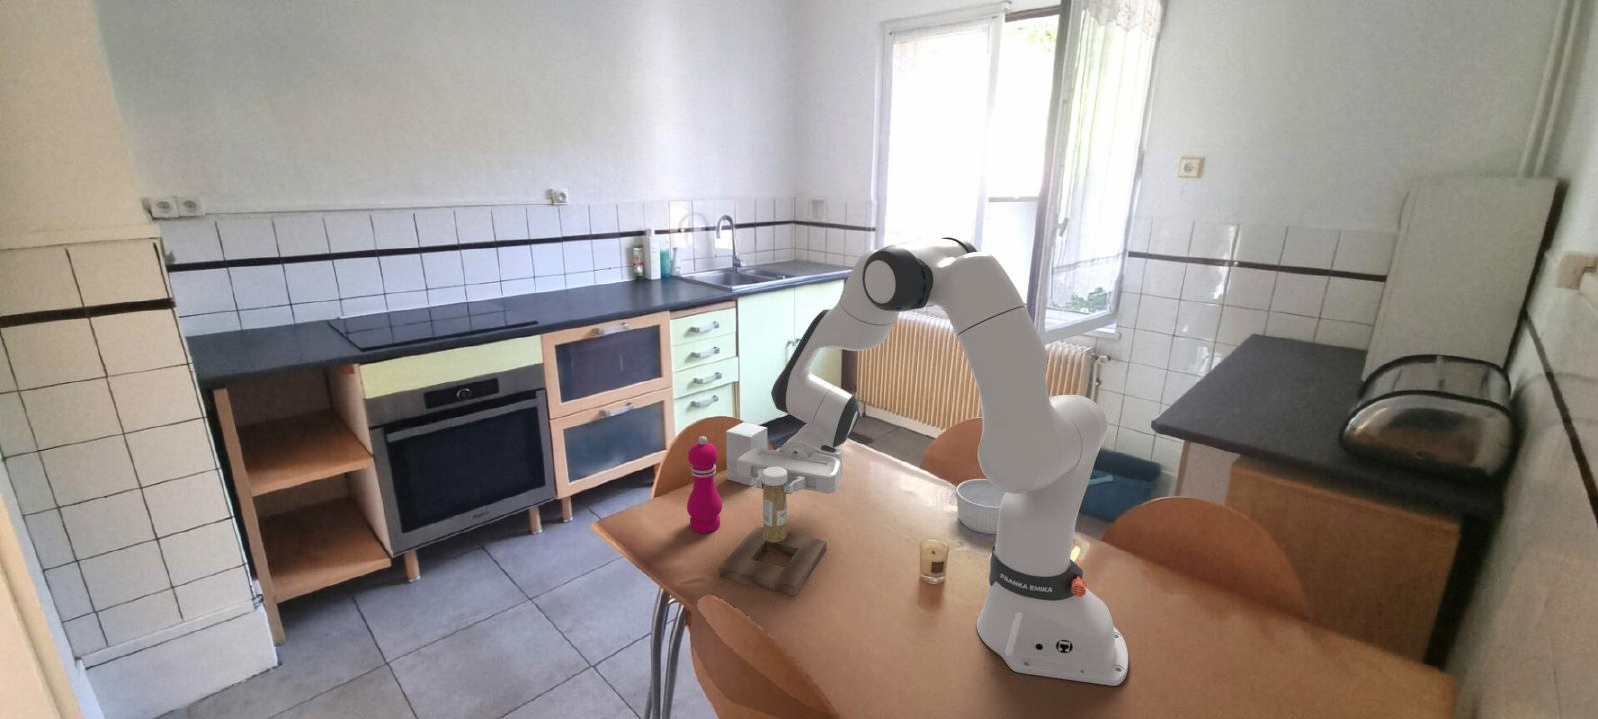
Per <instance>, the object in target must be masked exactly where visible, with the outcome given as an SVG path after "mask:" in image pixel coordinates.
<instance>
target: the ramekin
mask: <svg viewBox="0 0 1598 719" xmlns="http://www.w3.org/2000/svg"><path fill="white" fill-rule="evenodd" d="M1005 494H1006V492H1004V491H1002V490H1000V489H998V488H996V487H995V486H994V485H993V484H991V483H990V482H989V481H988V479H987V478H976V479H975V478H974V479H969V480H965V481H963V482H961V483H959V484H958V485H957V486H956V489H955V498H956V505H957V506H956V507H957V515H958V519H959V520H960V522H961V523H962V524H963V525H964V526H965V527H966V528H968V529H969V530H972V531H973V532H977V533H981V534H987V535H996V534H997V524H998V514H999V507H1000V503H1001V501H1002V499H1003V497H1004V495H1005Z"/></svg>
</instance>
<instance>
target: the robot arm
mask: <svg viewBox="0 0 1598 719" xmlns="http://www.w3.org/2000/svg"><path fill="white" fill-rule="evenodd" d="M844 284H845V285H844V286H843V289H842V292H841V295H840V297H839V300H838V302H837V303H836V305H835V306H834V307H833V308H831V309H830V308H829V309H823V310H822V311H820V312H819V313H818V314H817V315H816V316H815V317H814V319H813V320H812V321H811V323H809V325H808V326H807V329H806V330H805V332H804V334H803V335H802V337H801V339H800V341H799V342H798V344H797V346H796V347H795V349H794V351H793V352H792V354H791V357H790V358H789V360H788V362H787V364H786V365H785V367H784V368H783V370H782V372H780V374H779V375H778V376H777V378H776V380H775V381H774V383H773V385H772V389H771V398H772V402H773V405H774V406H775V408H776V410H778V411H781V412H783V413H786V414H787V415H790V416H792V417H795V418H796V419H798V420H800V421H802V422H804V423H806V424H805V425H803V426H802V427H801V428H800V429H799V430H798V431H797V433H796V434H794V435H793V436H791V437H790V438H789V439H788V440H787V441H786V442H784V444H783V445H781V447H780V448H779V450H775V449H769V448H767V449H764V448H755V449H752V450H750V451H748V452H747V453H745V454H743V455H742V456H740V457H739V458H738V460H737V472H738V475H739V476H741V477H745V478H750V479H756V480H755V484H754V486H755V488H757V489H761V490H763V481H762V472H763V470H764V469H766V468H769V467H781V468H784V469H785V470H786V471H787V482H786V484H784V487H783V489H784V491H783V493H785V494H786V495H793V494H794V493H795V492H798V491H802V490H807V491H813V492H818V493H822V494H823V493H824V494H827V495H828V494H829V495H830V494H834V493H836V492H837V491H838V489H839V487H840V485H841V479H842V476H843V454H842V450H840V449H838V448H839V446H841V445H843V444H844V443H845V442H846V441H847V440H848V439H849V437H850V436H851V433H853V431H854V428H855V427H856V424H857V423H858V419H859V416H860V409H859V404H858V401H857V398H856V396H855V395H853V394H851V393H849V392H848V391H847V390H845V389H842V388H841V387H839V386H837V385H836V384H835V385H834V384H833V383H830V382H829V381H826V380H825V379H824V378H821V377H819V376H818V375H815V374H814V373H813V372H812V371H811V370H810V366H811V365H812V362H814V359H815V358H816V356H817V354H818V353H819V351H820V350H821V349H824V348H825V349H826V348H828V349H829V348H830V349H840V350H846V351H851V352H861V351H862V352H863V351H867V350H872V349H874V348H876V347H878V346H881V345H882V344H883V343H884V342H885V341H886V340H887V338H888V336H889V335H890V333H891V332H892V330H893V328H894V326H895V324H896V321H897V319H898V317H899V314H900V312H901V313H902V312H908V311H913V310H914V311H915V310H920V309H924V308H929V307H930V308H931V307H934V306H937V307H938V308H941V309H942V310H943V311H944V313H945V314H946V315H947V318H948V319H949V320H950V321H949V322H950V324H951V326H952V330H953V331H954V333H955V335H956V338H957V341H958V342H959V345H960V347H961V349H962V352H963V354H964V357H965V359H966V362H967V363H968V367H969V368H970V371H971V373H972V375H973V378H974V382H975V384H976V387H977V393H978V397H979V403H980V408H981V409H980V410H981V420H982V431H981V432H982V433H981V438H980V441H979V444H978V446H977V447H978V448H977V461H978V464H979V467H980V470H981V472H982V473H983V475H984V477H985V479H988V481H989V482H990V483H991V484H993V485H994V486H995V487H996V488H998V489H1000V490H1002V491H1004V492H1006V494H1005V495H1004V497H1003V499H1002V501H1001V503H1000V507H999V514H998V524H997V534H995V544H994V545H993V547H992V551H991V553H990V556H989V557H990V559H989V568H988V578H989V579H988V582H989V586H988V590H987V594H986V598H985V601H984V604H983V607H982V610H981V611H980V614H979V615H978V617H977V619H976V620H977V621H976V629H977V633H978V635H979V637H980V638H981V640H982V641H983V643H984V644H985V645H986V646H987V647H989V648H990V649H991V650H992V651H993V652H995V653H997V655H998V656H1000V657H1002V659H1003V660H1004V661H1005V663H1006V665H1008V667H1009V668H1010V669H1011V670H1012V671H1014V672H1016V673H1018V674H1019V673H1020V674H1025V675H1033V676H1041V677H1047V678H1055V679H1063V680H1070V681H1076V682H1083V683H1090V684H1098V685H1106V686H1112V687H1113V686H1116V687H1117V686H1119V685H1120V684H1121V683H1122V682H1123V681H1124V680H1125V679H1126V677H1127V675H1128V670H1129V653H1128V652H1129V651H1128V647H1127V644H1126V641H1125V639H1124V637H1123V636H1122V634H1121V633H1120V631H1119V630H1118V629H1117V628H1116V627H1115V625H1114V622H1113V618H1112V615H1111V613H1110V612H1111V611H1110V610H1109V608H1108V606H1107V605H1106V604H1105V602H1104V601H1103V600H1101V599H1100V597H1098V596H1097V595H1095V594H1094V593H1093V592H1092V591H1091V590H1089V589H1088V588H1087V587H1086V586H1087V585H1086V584H1087V583H1086V581H1084V580H1083V574H1084V571H1083V569H1082V568H1081V562H1080V559H1079V558H1078V559H1077V560H1076V562H1075V561H1073V559H1071V556H1072V551H1073V550H1072V548H1073V542H1074V535H1075V529H1076V523H1077V520H1078V519H1077V518H1078V514H1079V510H1080V509H1081V505H1082V503H1083V499H1084V497H1085V493H1086V491H1087V488H1088V485H1089V483H1090V479H1091V476H1092V473H1093V470H1094V467H1095V463H1096V459H1097V457H1098V454H1099V452H1100V450H1101V448H1102V446H1103V444H1104V442H1105V440H1106V438H1107V435H1108V430H1109V429H1108V428H1109V427H1108V421H1107V418H1106V415H1105V413H1104V412H1103V410H1102V408H1101V407H1100V406H1099V404H1097V403H1096V402H1095V401H1093V400H1092V399H1090V398H1089V397H1086V396H1083V395H1080V394H1061V395H1059V394H1058V395H1052V396H1050V395H1049V390H1048V387H1047V386H1048V385H1047V377H1046V368H1047V367H1046V366H1047V362H1048V352H1047V349H1046V347H1045V345H1044V342H1043V341H1042V339H1041V336H1040V333H1039V332H1038V330H1037V328H1036V326H1035V324H1034V321H1033V319H1032V317H1031V315H1030V313H1029V310H1028V309H1027V307H1026V305H1025V302H1024V300H1023V298H1022V296H1021V295H1020V293H1019V291H1018V290H1017V287H1016V285H1015V284H1014V282H1013V281H1012V279H1011V277H1010V276H1009V275H1008V273H1007V271H1006V270H1005V269H1004V267H1003V266H1002V264H1001V263H1000V262H999V261H998V259H997V258H996V257H995V256H993V255H991V254H990V253H987V252H984V251H978V250H977V249H976V247H975V246H974V245H972V243H971V242H969V241H966V240H965V239H962V238H958V237H951V236H949V237H941V238H933V239H932V238H930V239H929V238H928V239H923V238H922V239H921V238H920V239H915V240H909V241H905V242H903V243H900V244H890V245H887V246H884V247H882V248H880V249H879V248H875V249H871V250H868V251H866V252H864V253H863V254H862V255H860V257H859V258H858V260H857V262H856V263H855V264H854V266H853V268H852V270H851V272H850V274H849V275H848V278H847V280H846V281H845V283H844Z"/></svg>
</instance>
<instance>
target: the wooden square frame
mask: <svg viewBox="0 0 1598 719" xmlns="http://www.w3.org/2000/svg"><path fill="white" fill-rule="evenodd" d="M763 533H764V526H759V525H756V526H755V527H754V529H752V531H751V532H749V534H748V535H747V536H746V537H745V538H744V539H743V540H742V541H741V542H740V544H739V545H738V546H737V547H736V548H735V549H734V550H733V552H731V553H730V555H728V556H727V558H726V559H725V560H724V561H723V562H722V563H721V564H720V566H718V567H719V568H718V571H719V572H718V574H719V575H718V576H719V577H720V578H723V579H726V580H727V579H728V580H730V581H735V582H739V583H742V584H746V585H750V586H755V587H758V588H762V589H765V590H769V591H773V592H777V593H781V594H784V595H789V596H793V597H796V596H797V594H798V593H799V591H800V590H801V588H802V587H803V586H804V584H805V583H806V582H807V580H808V578H809V576H810V575H811V574H812V572H813V571H814V569H815V568H816V567H817V565H818V563H819V562H820V560H821V559H822V558H823V557H824V554H825V553H826V551H827V541H826V540H822V539H818V538H813V537H809V536H804V535H800V534H795V533H792V532H787V537H786V538H785V539H784V540H782V541H779V542H770V541H767V540H766V539H765V538H764V537H763ZM765 551H769V552H773V553H778V554H782V555H785V556H790V557H791V558H790V559H789V561H788V562H787V564H786V565H785V567H784V566H779V565H775V564H771V563H768V562H763V561H758V560H759V559H760V557H761V556H762V555H763V554H764V553H765Z"/></svg>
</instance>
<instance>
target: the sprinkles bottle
mask: <svg viewBox="0 0 1598 719" xmlns="http://www.w3.org/2000/svg"><path fill="white" fill-rule="evenodd" d="M762 481H763V489H762V493H763V494H762V495H763V496H762V518H763V519H762V521H763V527H764V533H763V537H764V538H765V539H766V540H767V541H770V542H779V541H782V540H784V539H785V538H786V537H787V533H788V532H787V517H788V516H787V512H788V511H787V494H785V493H783V491H784V489H783V487H784V484H786V482H787V471H786V470H785V469H784V468H781V467H769V468H766V469H764V470H763V472H762Z"/></svg>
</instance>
